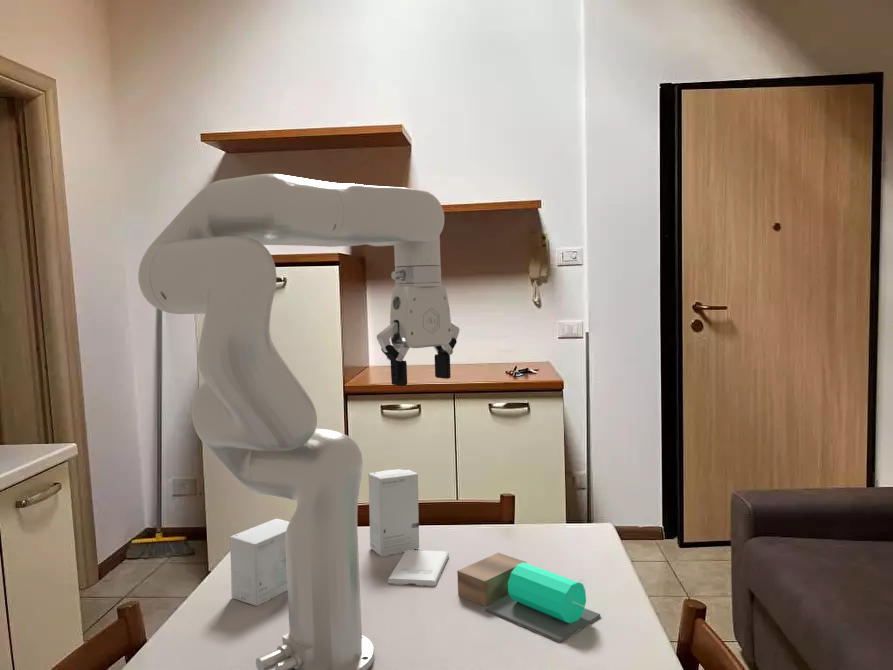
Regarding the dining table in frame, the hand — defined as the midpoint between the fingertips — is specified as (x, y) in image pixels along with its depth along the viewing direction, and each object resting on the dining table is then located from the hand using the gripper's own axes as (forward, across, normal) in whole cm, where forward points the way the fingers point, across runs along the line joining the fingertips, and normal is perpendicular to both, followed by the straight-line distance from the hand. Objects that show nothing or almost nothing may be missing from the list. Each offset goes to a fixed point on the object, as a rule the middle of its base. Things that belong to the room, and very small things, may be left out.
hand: (421, 381), depth 114 cm
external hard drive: (+35, +2, +5) cm, 36 cm away
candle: (+31, +5, -16) cm, 35 cm away
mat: (+34, +4, -21) cm, 40 cm away
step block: (+34, +5, -10) cm, 36 cm away
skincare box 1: (+35, -20, +18) cm, 44 cm away
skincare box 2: (+34, +6, +16) cm, 38 cm away
